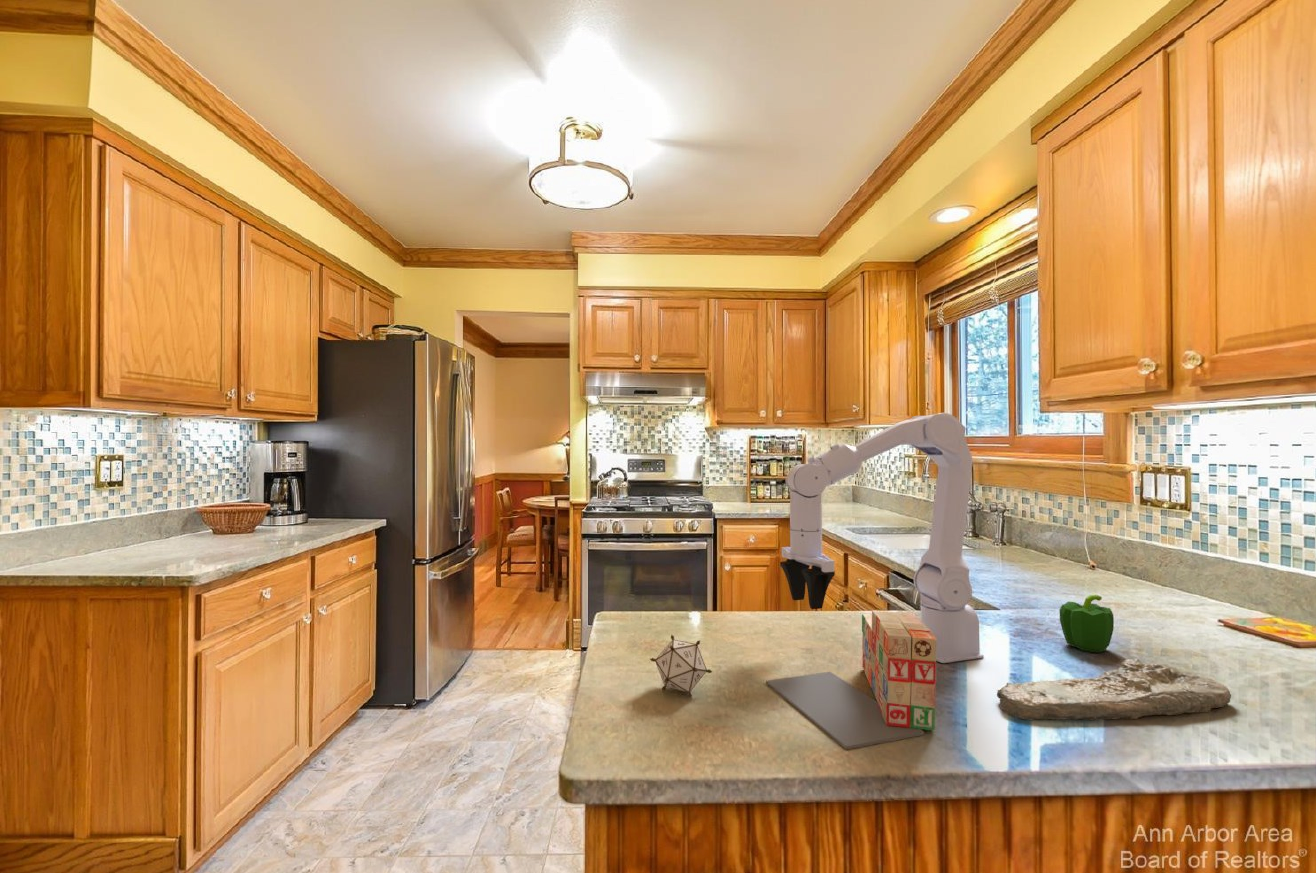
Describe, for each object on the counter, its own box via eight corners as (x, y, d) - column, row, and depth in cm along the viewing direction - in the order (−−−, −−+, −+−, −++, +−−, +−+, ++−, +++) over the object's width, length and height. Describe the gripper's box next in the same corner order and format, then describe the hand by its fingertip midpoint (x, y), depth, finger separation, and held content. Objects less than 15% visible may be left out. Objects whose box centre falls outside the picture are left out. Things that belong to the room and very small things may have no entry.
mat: (830, 673, 94) (830, 671, 94) (924, 734, 74) (924, 731, 74) (765, 683, 90) (765, 680, 90) (846, 749, 70) (846, 746, 70)
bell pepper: (1067, 653, 103) (1066, 598, 103) (1054, 638, 110) (1053, 588, 111) (1123, 659, 100) (1122, 602, 100) (1106, 644, 107) (1105, 591, 108)
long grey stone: (979, 706, 85) (1029, 744, 75) (978, 672, 85) (1028, 706, 75) (1182, 681, 89) (1255, 714, 79) (1181, 649, 89) (1255, 678, 79)
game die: (679, 721, 85) (658, 682, 81) (655, 682, 93) (634, 644, 88) (727, 686, 88) (709, 646, 83) (700, 650, 95) (681, 612, 90)
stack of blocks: (861, 667, 96) (862, 595, 96) (899, 671, 95) (900, 598, 95) (886, 725, 75) (887, 633, 75) (936, 731, 74) (937, 637, 74)
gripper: (767, 525, 108) (768, 595, 108) (808, 536, 95) (809, 617, 94) (799, 523, 111) (800, 592, 110) (844, 534, 97) (845, 613, 96)
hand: (806, 603), depth 102 cm, fingers open, 5 cm apart
